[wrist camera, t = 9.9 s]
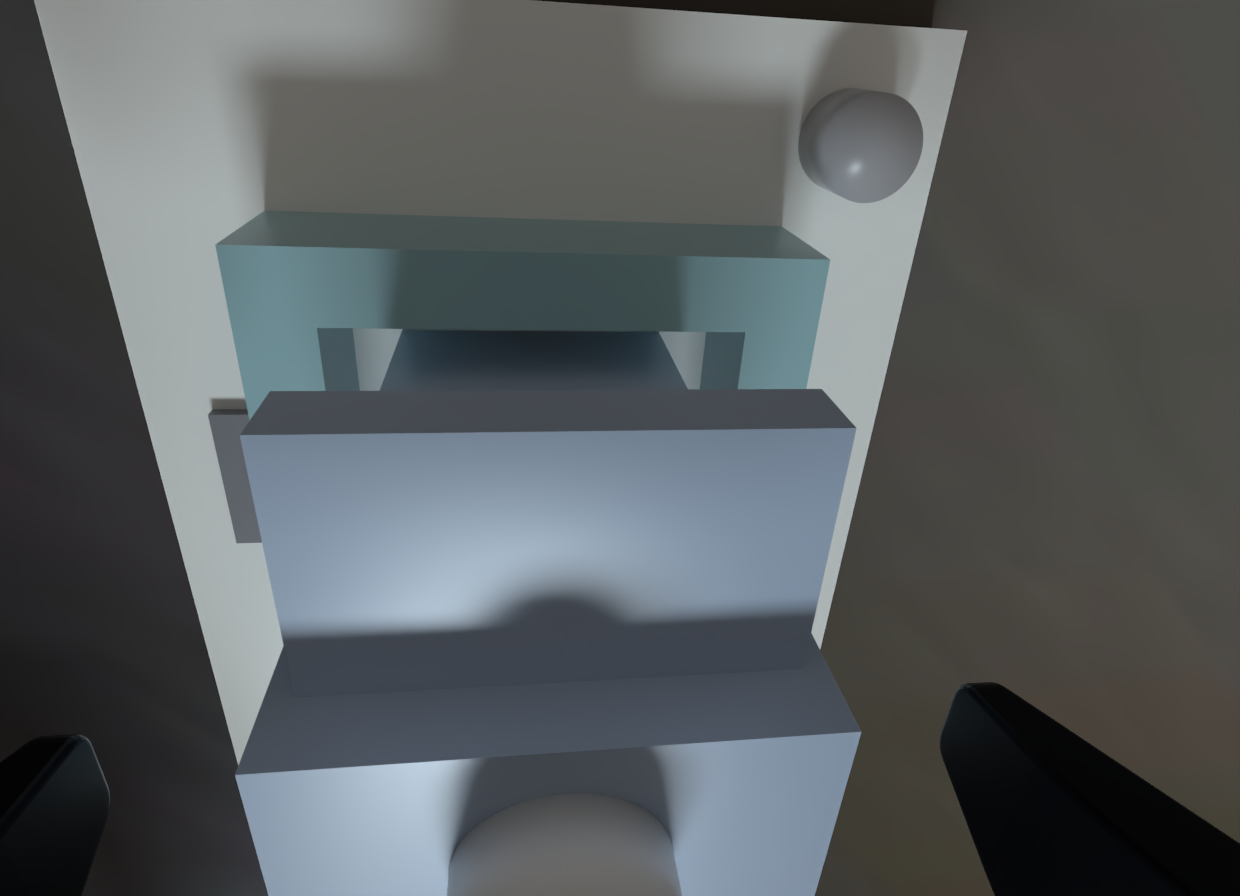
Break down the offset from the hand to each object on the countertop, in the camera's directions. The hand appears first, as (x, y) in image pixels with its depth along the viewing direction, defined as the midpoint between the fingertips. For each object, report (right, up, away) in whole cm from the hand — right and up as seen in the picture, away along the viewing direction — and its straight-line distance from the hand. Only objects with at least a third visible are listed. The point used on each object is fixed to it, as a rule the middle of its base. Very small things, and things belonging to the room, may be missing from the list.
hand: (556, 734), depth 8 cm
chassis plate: (-1, +3, +6) cm, 7 cm away
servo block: (-1, +3, +5) cm, 6 cm away
